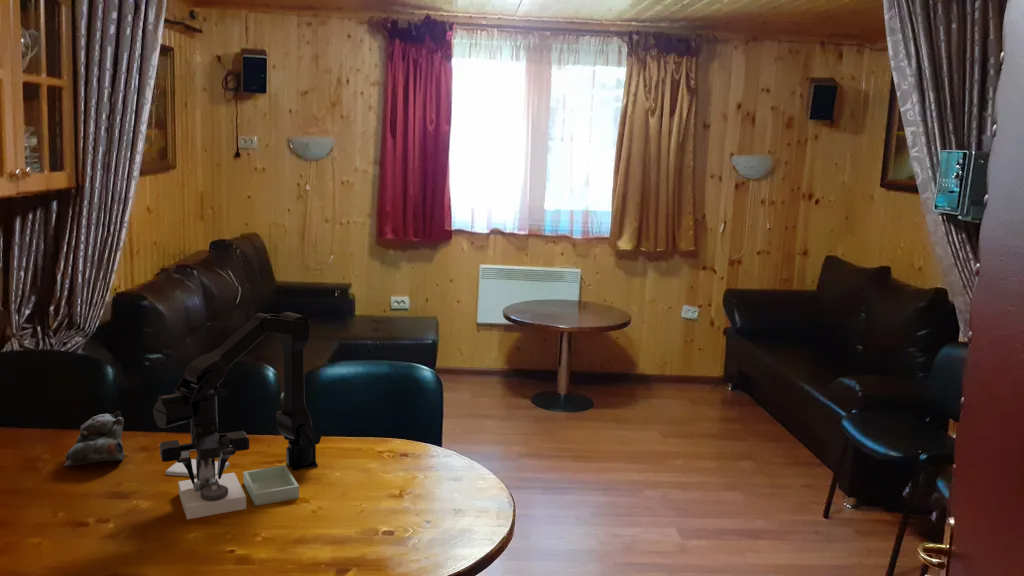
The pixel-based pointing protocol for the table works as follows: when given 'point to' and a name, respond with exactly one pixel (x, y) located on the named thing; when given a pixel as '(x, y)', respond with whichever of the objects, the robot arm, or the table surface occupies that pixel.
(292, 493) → the tray
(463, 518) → the table surface
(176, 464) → the external hard drive
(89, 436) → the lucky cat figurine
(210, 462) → the pin
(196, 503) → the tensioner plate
